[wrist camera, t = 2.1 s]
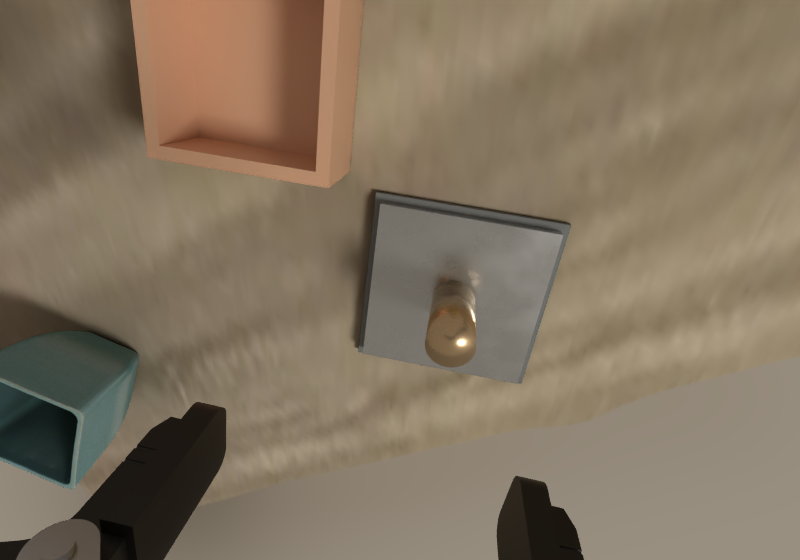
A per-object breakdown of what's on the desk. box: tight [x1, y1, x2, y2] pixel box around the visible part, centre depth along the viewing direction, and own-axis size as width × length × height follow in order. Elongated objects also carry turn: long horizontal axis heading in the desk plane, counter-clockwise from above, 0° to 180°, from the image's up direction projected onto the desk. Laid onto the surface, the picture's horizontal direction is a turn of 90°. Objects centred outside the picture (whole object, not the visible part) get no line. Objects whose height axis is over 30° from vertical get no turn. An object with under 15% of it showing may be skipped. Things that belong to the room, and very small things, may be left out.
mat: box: [358, 191, 571, 384], centre depth 32 cm, size 13×13×1 cm
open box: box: [130, 0, 364, 188], centre depth 26 cm, size 11×11×5 cm
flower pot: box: [0, 331, 139, 489], centre depth 36 cm, size 9×9×9 cm
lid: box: [363, 201, 563, 384], centre depth 29 cm, size 12×12×7 cm
